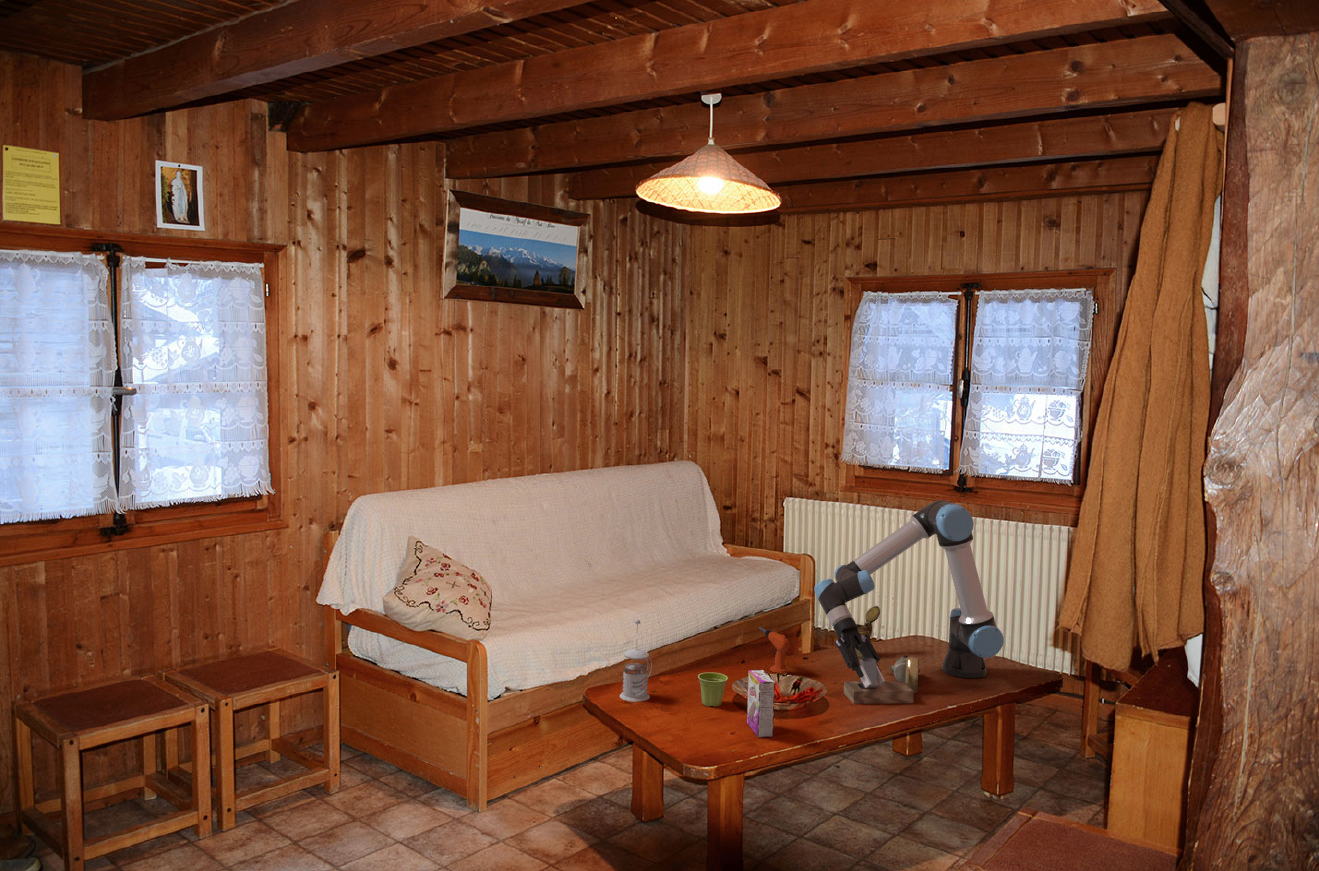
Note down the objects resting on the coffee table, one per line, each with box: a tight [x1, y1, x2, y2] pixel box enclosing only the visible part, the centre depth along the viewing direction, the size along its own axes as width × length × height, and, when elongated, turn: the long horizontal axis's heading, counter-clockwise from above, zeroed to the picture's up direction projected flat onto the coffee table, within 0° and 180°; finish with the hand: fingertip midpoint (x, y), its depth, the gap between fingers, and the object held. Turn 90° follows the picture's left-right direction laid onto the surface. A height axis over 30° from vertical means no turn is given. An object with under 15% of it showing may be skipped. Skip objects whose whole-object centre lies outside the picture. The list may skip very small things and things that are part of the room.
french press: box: [619, 619, 653, 703], centre depth 308 cm, size 10×12×25 cm
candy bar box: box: [746, 669, 776, 738], centre depth 282 cm, size 11×5×16 cm, turn 12°
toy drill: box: [758, 626, 791, 673], centre depth 342 cm, size 5×18×14 cm, turn 28°
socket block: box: [843, 680, 915, 705], centre depth 315 cm, size 20×10×4 cm, turn 97°
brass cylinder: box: [905, 656, 920, 694], centre depth 323 cm, size 4×4×11 cm
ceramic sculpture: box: [888, 655, 921, 683], centre depth 337 cm, size 11×9×15 cm
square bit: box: [859, 657, 877, 689], centre depth 314 cm, size 4×4×11 cm
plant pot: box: [697, 671, 729, 707], centre depth 304 cm, size 9×9×9 cm
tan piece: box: [855, 605, 881, 659], centre depth 364 cm, size 9×14×18 cm, turn 125°
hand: (875, 684), depth 311 cm, fingers closed on square bit, 5 cm apart
